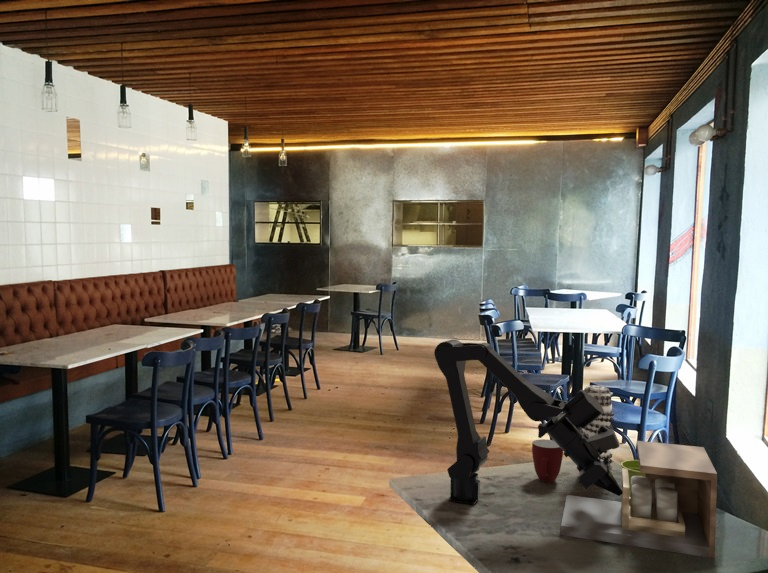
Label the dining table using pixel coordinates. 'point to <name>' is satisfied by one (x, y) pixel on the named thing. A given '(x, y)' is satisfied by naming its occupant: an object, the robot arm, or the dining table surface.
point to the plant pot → (632, 470)
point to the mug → (547, 459)
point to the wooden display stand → (656, 462)
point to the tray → (651, 506)
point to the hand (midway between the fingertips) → (621, 494)
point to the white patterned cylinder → (604, 400)
